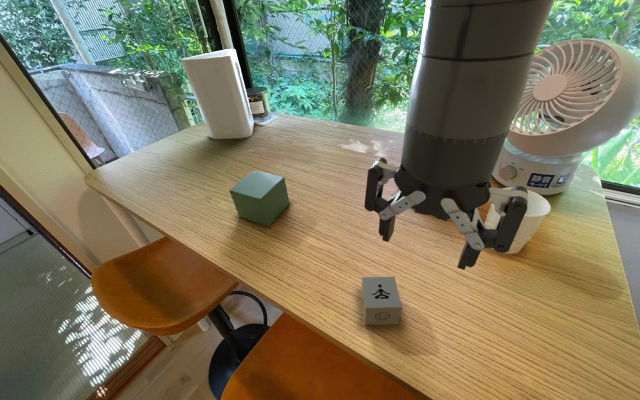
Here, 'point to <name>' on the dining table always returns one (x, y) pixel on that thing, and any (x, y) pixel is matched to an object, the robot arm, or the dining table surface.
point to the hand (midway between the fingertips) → (422, 249)
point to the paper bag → (220, 93)
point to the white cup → (529, 224)
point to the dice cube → (380, 300)
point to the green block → (260, 197)
